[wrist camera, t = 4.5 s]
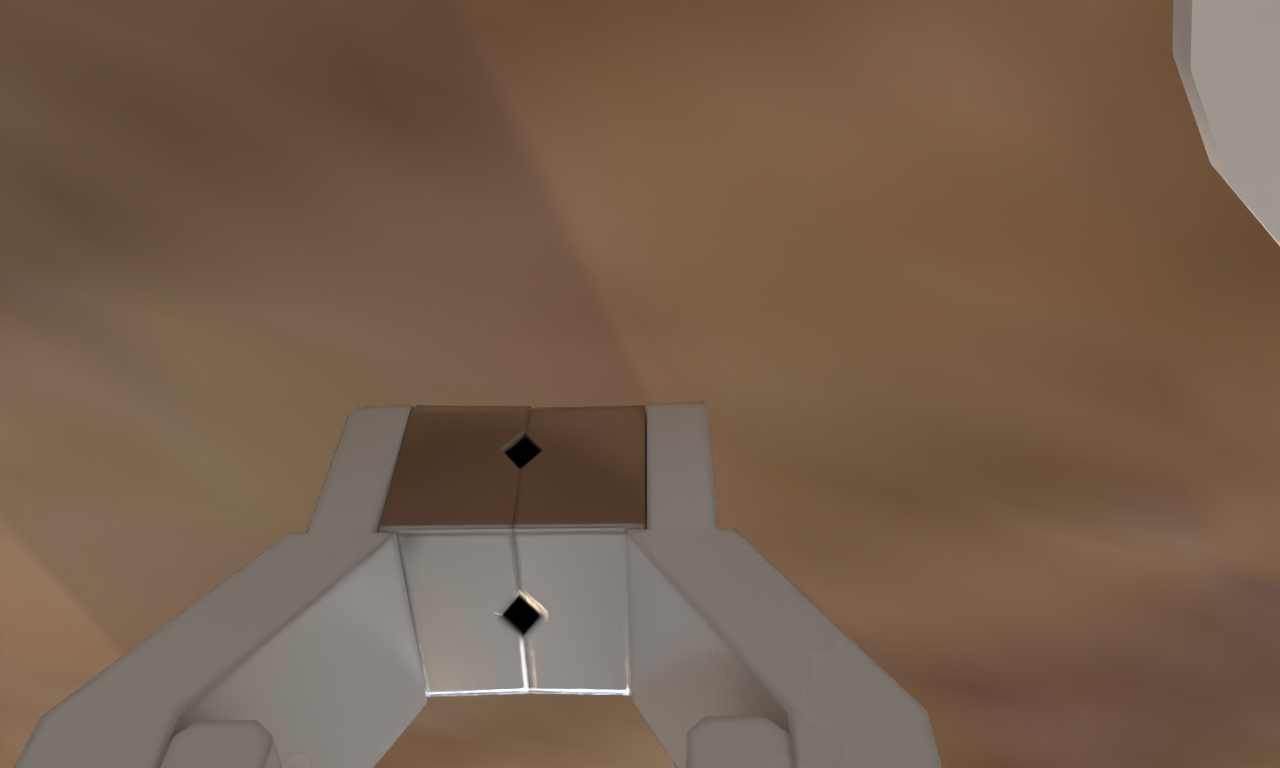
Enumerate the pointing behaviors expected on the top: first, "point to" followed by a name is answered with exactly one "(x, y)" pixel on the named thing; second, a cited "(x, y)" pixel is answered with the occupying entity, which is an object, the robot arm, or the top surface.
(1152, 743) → the top surface
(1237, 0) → the pizza cutter
